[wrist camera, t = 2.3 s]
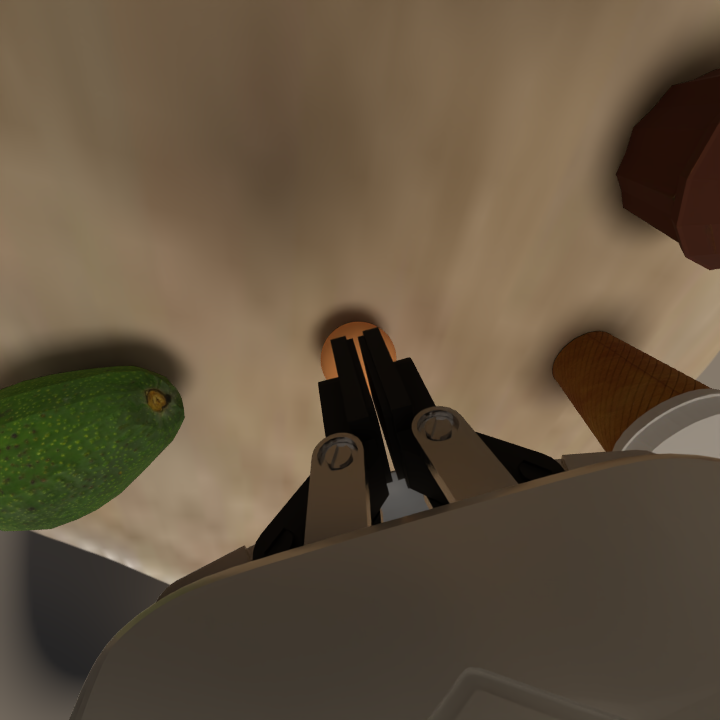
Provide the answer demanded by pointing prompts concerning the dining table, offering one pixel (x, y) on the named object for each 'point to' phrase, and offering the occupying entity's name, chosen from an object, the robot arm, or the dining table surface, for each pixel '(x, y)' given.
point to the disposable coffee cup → (637, 398)
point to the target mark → (401, 500)
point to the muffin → (679, 168)
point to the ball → (354, 332)
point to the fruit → (79, 441)
